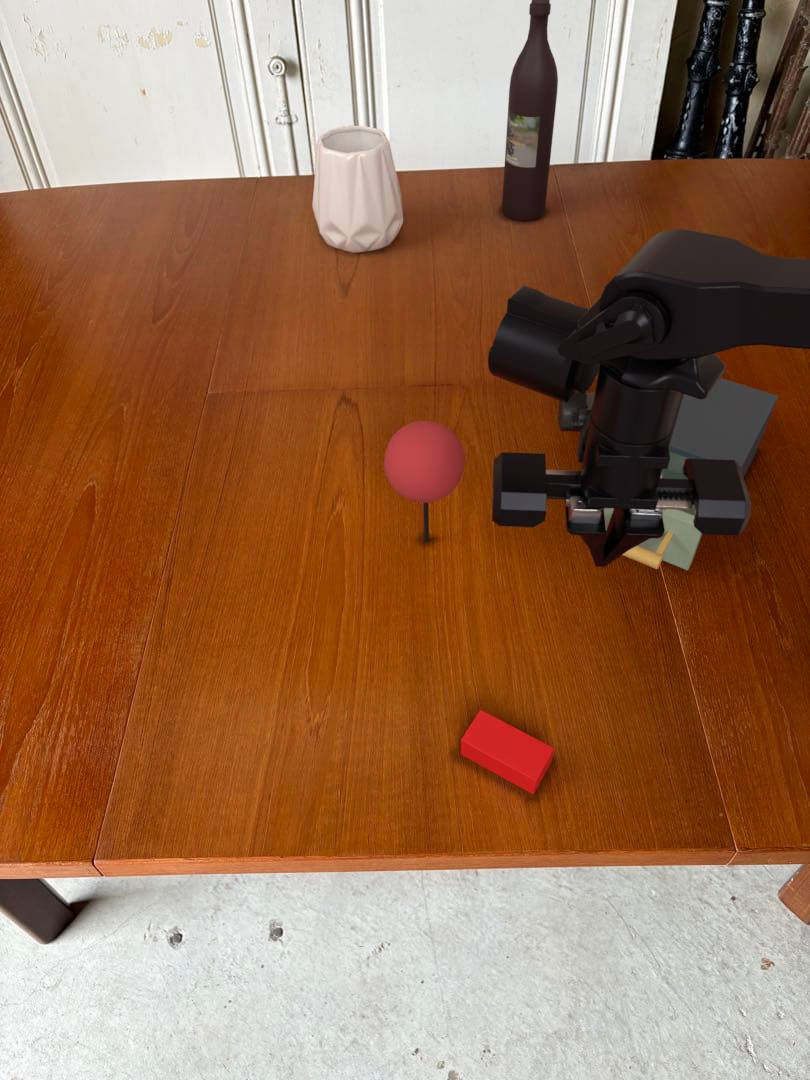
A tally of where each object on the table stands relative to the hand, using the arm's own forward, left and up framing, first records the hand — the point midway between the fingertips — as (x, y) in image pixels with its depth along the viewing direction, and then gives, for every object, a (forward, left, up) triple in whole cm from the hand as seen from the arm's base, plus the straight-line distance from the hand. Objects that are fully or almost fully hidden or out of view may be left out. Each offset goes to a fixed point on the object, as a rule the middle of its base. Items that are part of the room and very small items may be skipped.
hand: (599, 562), depth 68 cm
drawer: (0, -17, -11) cm, 20 cm away
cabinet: (0, -28, -12) cm, 31 cm away
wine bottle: (+44, -74, -12) cm, 87 cm away
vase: (+63, -54, -12) cm, 83 cm away
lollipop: (+20, -4, -12) cm, 23 cm away
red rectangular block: (+1, +14, -12) cm, 19 cm away
